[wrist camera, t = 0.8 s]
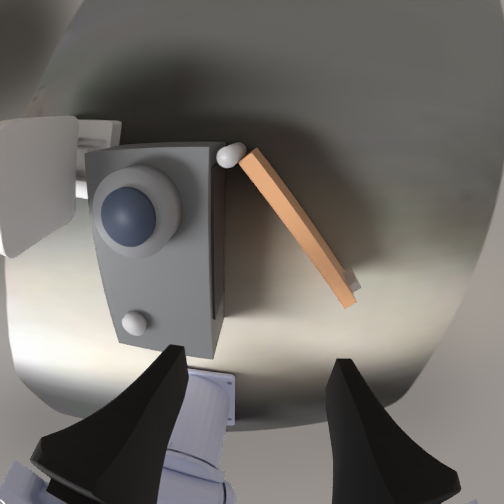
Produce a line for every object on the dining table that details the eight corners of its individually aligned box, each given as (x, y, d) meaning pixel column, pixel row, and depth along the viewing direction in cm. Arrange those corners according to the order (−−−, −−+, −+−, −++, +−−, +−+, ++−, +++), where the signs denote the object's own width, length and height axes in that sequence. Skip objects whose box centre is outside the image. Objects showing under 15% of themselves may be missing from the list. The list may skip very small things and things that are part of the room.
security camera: (52, 114, 15) (-51, 132, 6) (123, 115, 16) (6, 124, 6) (49, 190, 18) (-43, 238, 9) (115, 203, 18) (16, 268, 9)
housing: (225, 318, 22) (210, 380, 16) (141, 307, 22) (109, 359, 16) (228, 141, 16) (202, 150, 10) (123, 144, 16) (63, 158, 11)
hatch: (226, 149, 16) (212, 155, 12) (254, 128, 15) (248, 128, 12) (325, 281, 19) (335, 316, 16) (351, 266, 19) (366, 298, 15)
